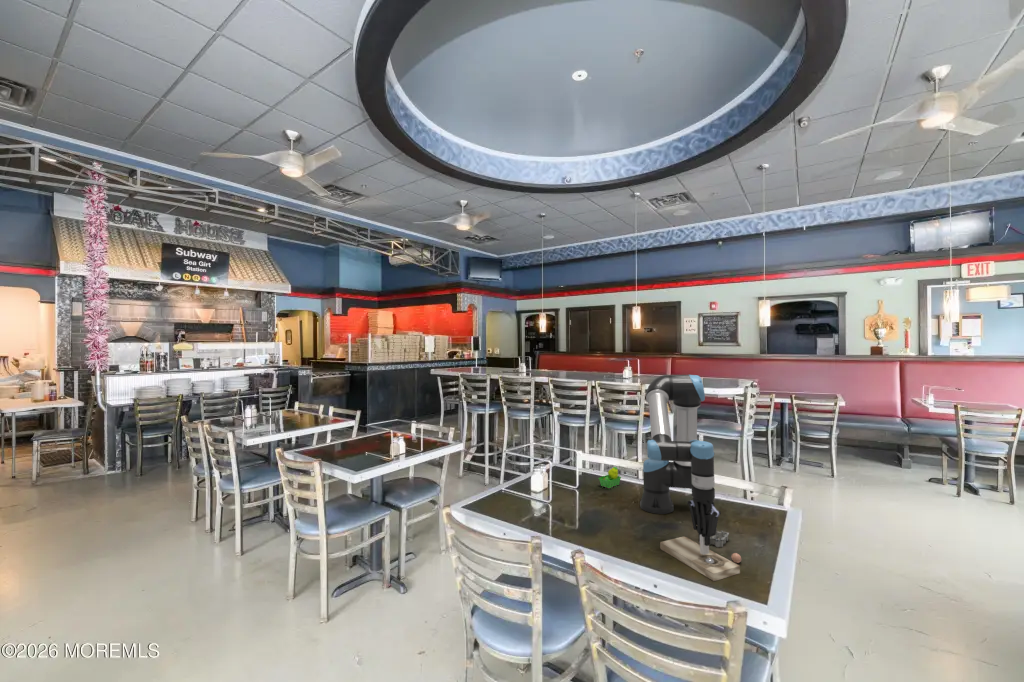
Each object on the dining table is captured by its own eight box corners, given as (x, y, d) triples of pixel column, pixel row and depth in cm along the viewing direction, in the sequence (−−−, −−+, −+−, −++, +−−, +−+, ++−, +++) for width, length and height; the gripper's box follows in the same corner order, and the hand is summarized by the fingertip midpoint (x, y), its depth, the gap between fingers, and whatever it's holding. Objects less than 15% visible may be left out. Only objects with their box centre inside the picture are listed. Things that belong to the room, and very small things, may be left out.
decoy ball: (735, 559, 155) (735, 550, 155) (743, 563, 152) (743, 554, 152) (729, 561, 154) (729, 552, 154) (737, 565, 151) (736, 556, 151)
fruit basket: (610, 482, 244) (610, 462, 244) (623, 486, 237) (623, 465, 237) (598, 487, 236) (597, 466, 236) (611, 491, 230) (610, 470, 230)
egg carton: (711, 534, 176) (711, 524, 176) (731, 540, 171) (730, 529, 171) (701, 543, 169) (701, 532, 169) (721, 549, 163) (721, 538, 163)
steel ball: (711, 554, 152) (717, 561, 149) (708, 562, 153) (715, 569, 150) (704, 556, 150) (710, 563, 148) (701, 563, 151) (708, 570, 149)
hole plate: (684, 542, 169) (684, 536, 169) (740, 573, 146) (739, 565, 146) (660, 548, 164) (660, 542, 164) (713, 581, 141) (713, 573, 141)
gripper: (681, 482, 157) (682, 547, 157) (709, 493, 145) (711, 563, 145) (696, 479, 160) (698, 543, 160) (726, 490, 148) (727, 559, 147)
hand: (704, 553), depth 152 cm, fingers closed
